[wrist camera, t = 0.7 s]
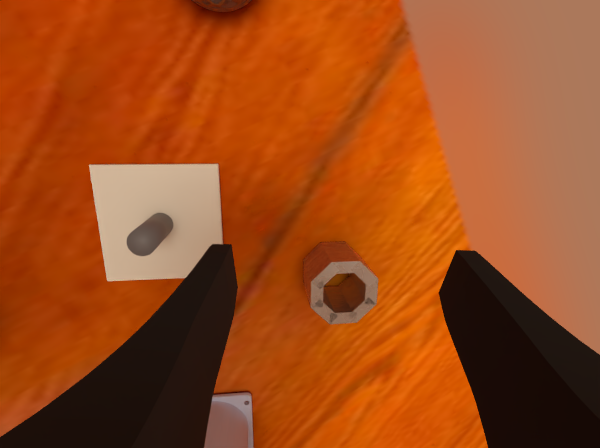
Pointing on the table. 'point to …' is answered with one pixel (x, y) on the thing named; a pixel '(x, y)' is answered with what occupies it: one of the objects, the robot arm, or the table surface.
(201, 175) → the post stand
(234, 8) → the vase
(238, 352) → the table surface
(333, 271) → the collar
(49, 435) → the robot arm
